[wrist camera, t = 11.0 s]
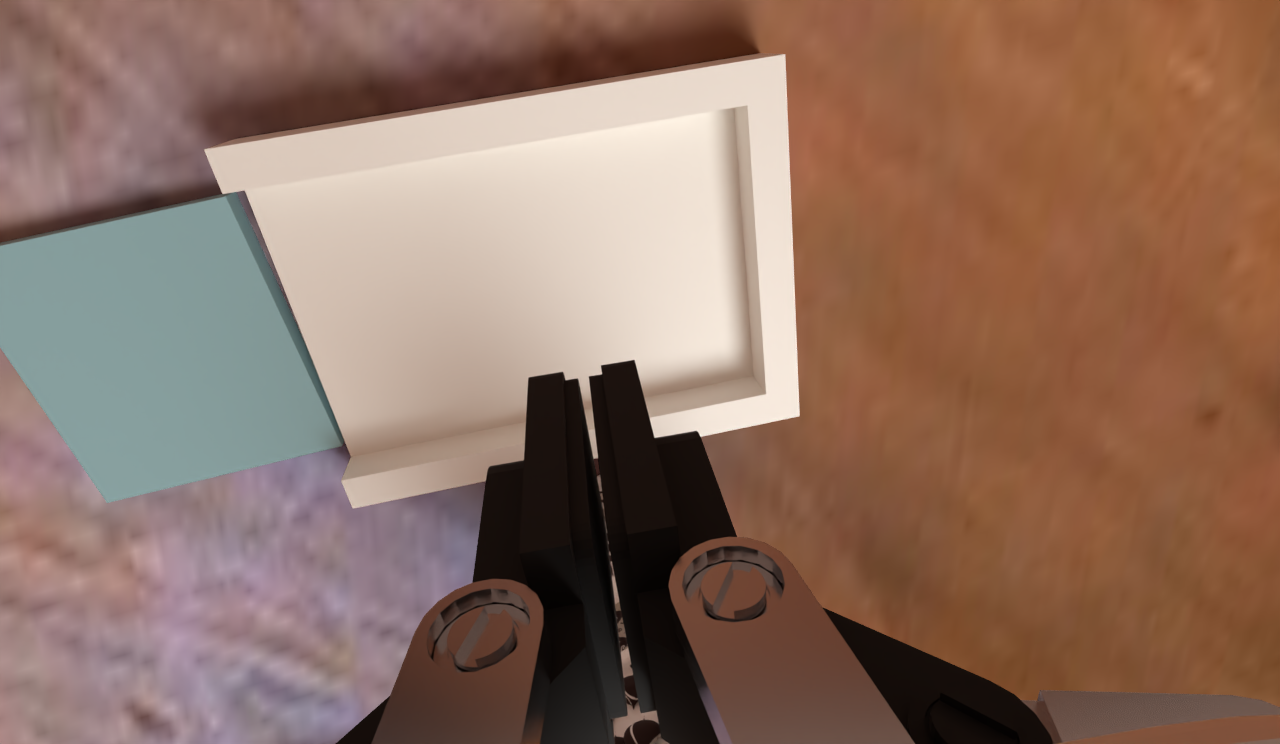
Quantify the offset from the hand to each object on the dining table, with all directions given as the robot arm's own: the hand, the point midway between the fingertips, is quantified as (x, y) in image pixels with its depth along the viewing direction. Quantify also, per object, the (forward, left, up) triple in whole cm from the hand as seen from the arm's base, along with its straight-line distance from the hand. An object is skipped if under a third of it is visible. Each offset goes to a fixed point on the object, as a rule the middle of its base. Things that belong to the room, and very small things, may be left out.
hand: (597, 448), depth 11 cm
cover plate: (+4, -18, -22) cm, 28 cm away
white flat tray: (+4, -2, -21) cm, 22 cm away
